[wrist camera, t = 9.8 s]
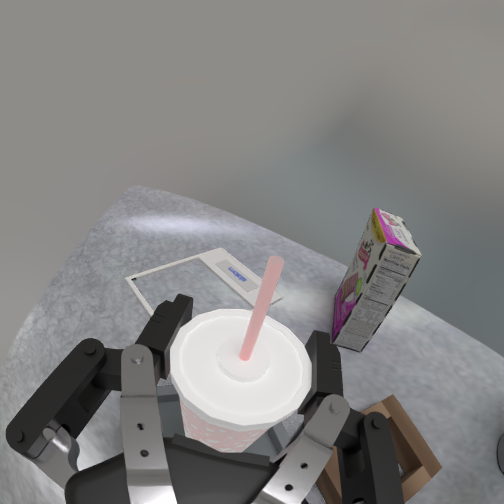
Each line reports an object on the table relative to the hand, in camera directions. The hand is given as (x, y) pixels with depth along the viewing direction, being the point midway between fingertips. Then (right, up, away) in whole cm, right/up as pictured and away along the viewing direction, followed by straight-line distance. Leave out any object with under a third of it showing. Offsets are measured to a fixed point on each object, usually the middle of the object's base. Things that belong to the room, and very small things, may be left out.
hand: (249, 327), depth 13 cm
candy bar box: (+14, -7, +25) cm, 30 cm away
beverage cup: (-2, -8, +2) cm, 9 cm away
